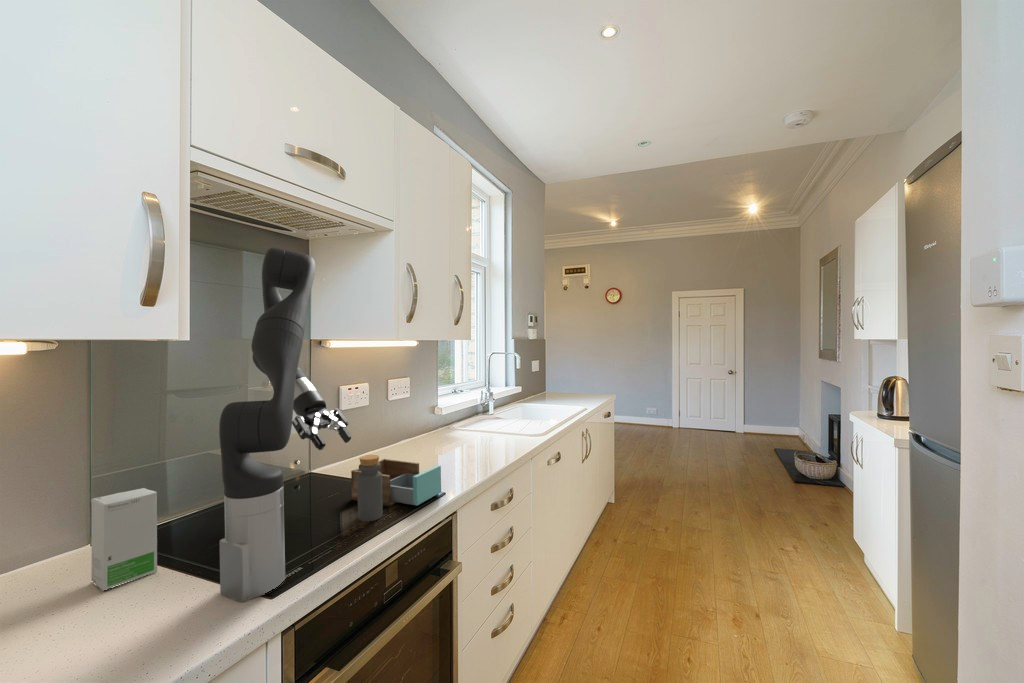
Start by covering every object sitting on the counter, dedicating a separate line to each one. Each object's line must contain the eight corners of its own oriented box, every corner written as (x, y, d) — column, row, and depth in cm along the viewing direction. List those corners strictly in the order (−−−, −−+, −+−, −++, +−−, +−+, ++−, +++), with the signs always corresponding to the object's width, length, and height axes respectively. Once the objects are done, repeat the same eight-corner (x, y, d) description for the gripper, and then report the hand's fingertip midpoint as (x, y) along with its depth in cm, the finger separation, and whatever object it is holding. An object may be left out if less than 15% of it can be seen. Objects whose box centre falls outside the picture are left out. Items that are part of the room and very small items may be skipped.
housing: (388, 506, 116) (388, 476, 116) (351, 499, 122) (351, 470, 122) (419, 490, 128) (419, 463, 128) (384, 484, 134) (384, 458, 134)
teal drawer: (417, 505, 114) (416, 477, 114) (380, 499, 119) (380, 471, 119) (441, 492, 124) (440, 465, 124) (406, 486, 129) (406, 461, 129)
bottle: (382, 519, 107) (381, 458, 107) (357, 523, 106) (356, 461, 106) (382, 511, 113) (381, 453, 113) (358, 514, 111) (357, 455, 111)
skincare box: (102, 593, 77) (101, 505, 77) (89, 583, 81) (87, 498, 81) (159, 571, 85) (158, 491, 85) (145, 563, 88) (144, 485, 88)
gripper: (287, 392, 111) (321, 440, 106) (332, 386, 124) (363, 429, 119) (273, 411, 113) (306, 460, 109) (319, 404, 126) (349, 447, 122)
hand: (336, 444), depth 114 cm, fingers open, 8 cm apart
